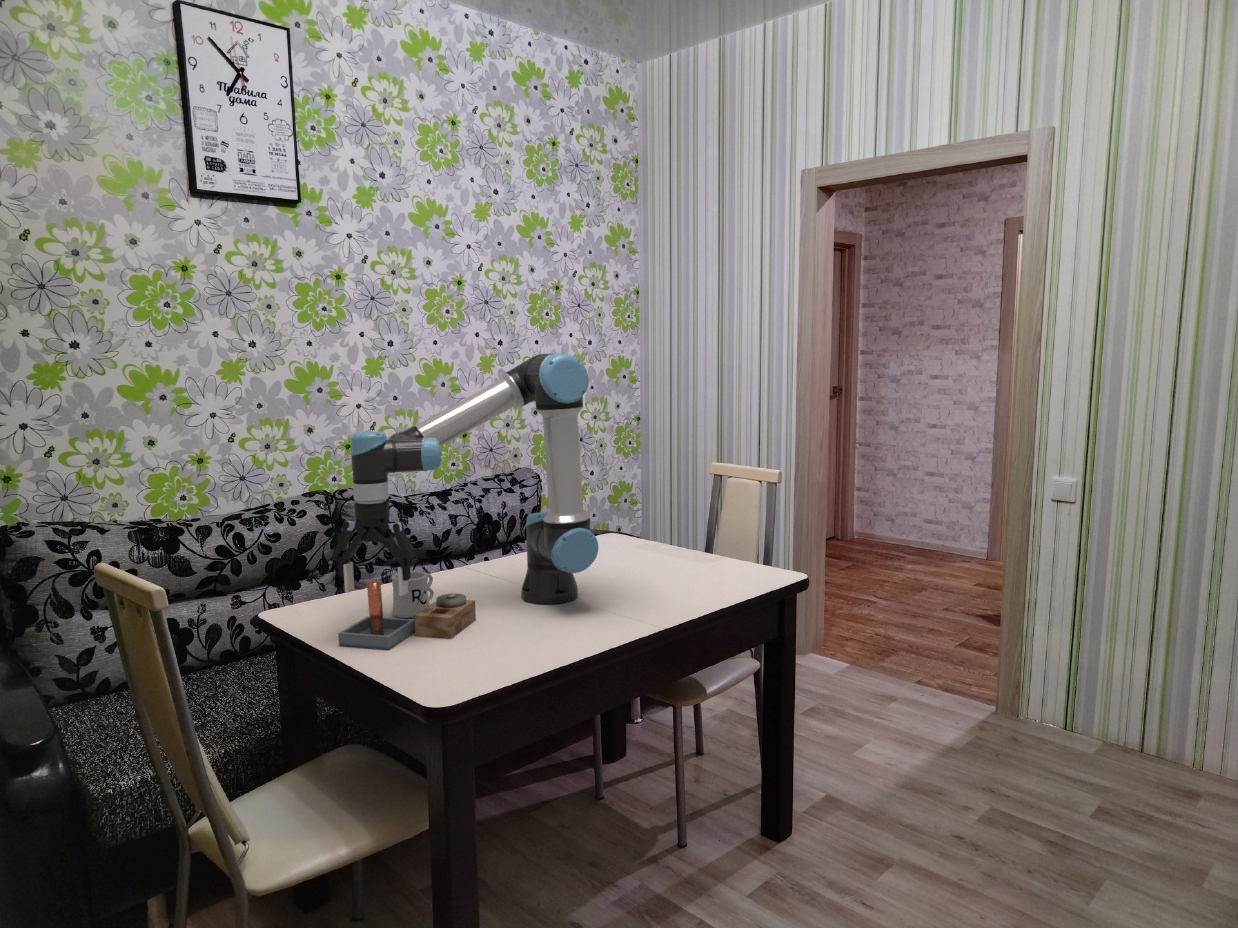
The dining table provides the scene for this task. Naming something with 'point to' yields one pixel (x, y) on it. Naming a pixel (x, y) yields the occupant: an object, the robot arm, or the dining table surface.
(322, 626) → the dining table surface
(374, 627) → the pin
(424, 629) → the block
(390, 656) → the dining table surface
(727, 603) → the dining table surface
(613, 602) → the dining table surface
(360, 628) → the tray
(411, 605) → the mug
